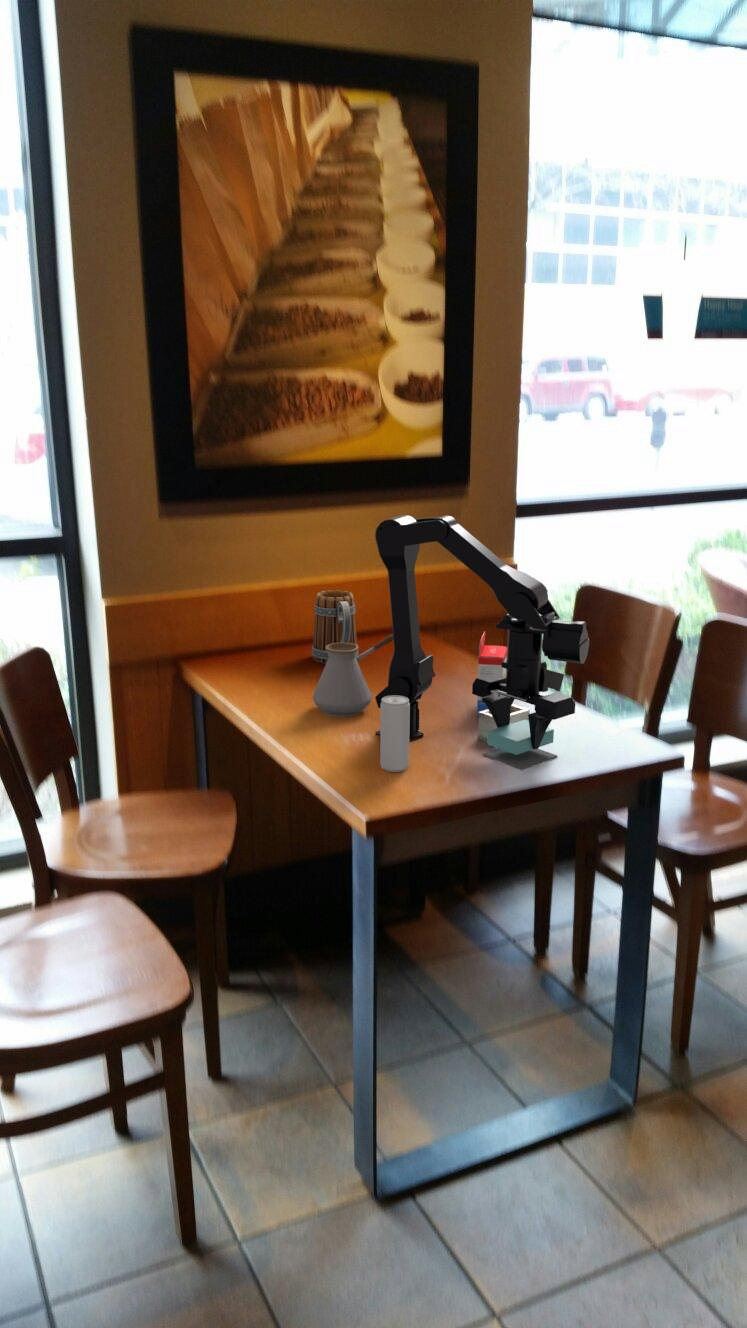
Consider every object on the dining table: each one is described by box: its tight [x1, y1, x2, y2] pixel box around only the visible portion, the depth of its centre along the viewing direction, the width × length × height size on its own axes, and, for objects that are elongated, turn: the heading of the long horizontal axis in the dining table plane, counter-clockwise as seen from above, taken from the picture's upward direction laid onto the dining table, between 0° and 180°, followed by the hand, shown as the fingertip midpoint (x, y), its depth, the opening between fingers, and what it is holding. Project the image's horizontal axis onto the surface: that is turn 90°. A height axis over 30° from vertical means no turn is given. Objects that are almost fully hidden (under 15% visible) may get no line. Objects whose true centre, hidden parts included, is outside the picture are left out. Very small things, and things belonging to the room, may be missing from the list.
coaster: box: [482, 748, 558, 771], centre depth 186 cm, size 9×9×1 cm
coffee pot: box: [312, 633, 394, 718], centre depth 210 cm, size 21×12×15 cm, turn 121°
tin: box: [477, 703, 531, 743], centre depth 195 cm, size 8×5×5 cm, turn 131°
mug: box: [311, 589, 359, 665], centre depth 241 cm, size 16×11×15 cm
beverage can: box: [379, 695, 410, 773], centre depth 180 cm, size 5×5×12 cm
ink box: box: [476, 631, 507, 715], centre depth 209 cm, size 8×5×15 cm, turn 169°
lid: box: [487, 720, 555, 755], centre depth 186 cm, size 9×7×2 cm
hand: (520, 743), depth 186 cm, fingers closed on lid, 7 cm apart
